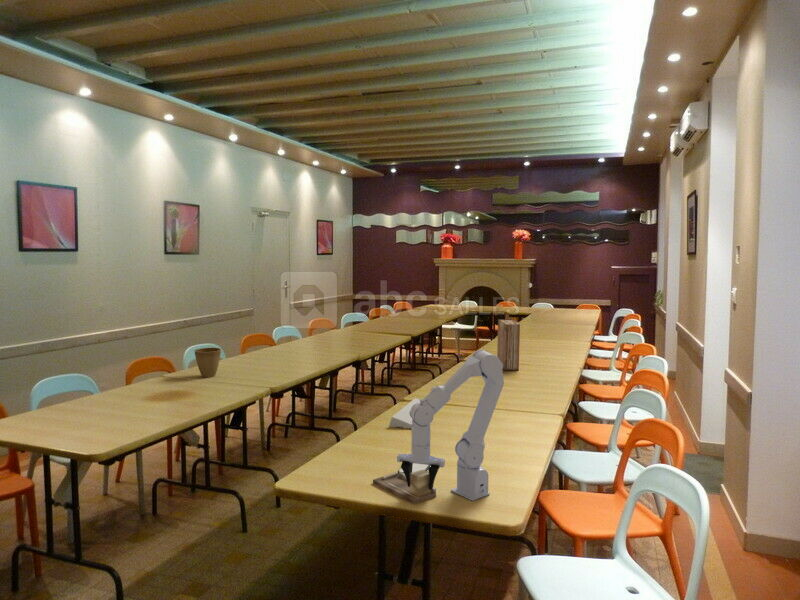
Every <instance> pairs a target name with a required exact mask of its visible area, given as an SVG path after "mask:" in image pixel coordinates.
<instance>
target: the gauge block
mask: <svg viewBox="0 0 800 600" xmlns="http://www.w3.org/2000/svg"><path fill="white" fill-rule="evenodd" d="M410 493H412V494H414V495H416V496H418V497H419V496H422V495H425V494H428V493H431V490H429V471H425V470H419V471H416V472H413V473H410Z"/></svg>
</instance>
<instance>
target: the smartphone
mask: <svg viewBox="0 0 800 600" xmlns="http://www.w3.org/2000/svg"><path fill="white" fill-rule="evenodd" d="M430 466H431V465H425V464H416V463H413V466H412V473H413V472H416V471H419V470H425V471H427V470H428V471H429V468H430ZM428 471H427V472H428ZM399 472H401V473H404V472H403V470H402V468H401V467H400V468H399V469H398V470H397V473H398V475H399Z"/></svg>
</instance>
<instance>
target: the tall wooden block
mask: <svg viewBox="0 0 800 600" xmlns="http://www.w3.org/2000/svg"><path fill="white" fill-rule="evenodd" d="M520 333H521V324H520V323H519V322H518V321H516V320H515V319H512V318H497V352H496V353H497V354H496V356H497V357H498V358H499V360H500V361H501V363H502V364H503V368H502V371H507V370H509V371H510V370H511V371H513V370H514V371H516V370H517V371H519V370H520V341H521V340H520V335H521V334H520Z"/></svg>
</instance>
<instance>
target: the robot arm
mask: <svg viewBox="0 0 800 600" xmlns="http://www.w3.org/2000/svg"><path fill="white" fill-rule="evenodd" d="M502 368H503V364H502V363H501V361H500V360H499V358H498V357H497V355H496V354H495V355H494V354H491V353H490V352H488V351H486V350H484V349H479V350H476V351H474V352H473V354H472V355H470V356H468V357H467V359H466V360H465V362H464V363H463V364H462V365H461V366H460V367H459V368H458V370H456V371H455V372H454V374H453V375H452V376H451V377H450V378H449V379H448V380H447V381H446V382H445V383H444V384H442V385H436V386H432V387H431V388H430V392H428V394H427V395H426V396H425V397H423V398H421V399H420V403H416V404H414V405H413V406H412V408H411V410H410V412H409V413H410V416H411V418H412V419H413V420H412V429H411V450H410V451H411V452H410V453H411V454H410V453H398V454H397V456H396V463H401V464H400V468H402V470H403V472H404V474H405V476H406V480H407V484H408V487H410V473H412V466H413V463H416V464H425V465H431V467H430V468H429V469H428V472H429V490H432V488H433V487H434V484H435V480H436V477H437V475H438V471H439V469H440V468H444V467H445V466H446V465H445V464H446V459H444V458H439V457H435V456H432V455H431V432H432V431H431V423H432V422H433V421H434V418H435V417H434V416H435V415H436V414H437V413H438V412H439V411H440V410H441V409H442V408H443V407H444V406H445V405H446V404H448V403H449V402H450V400H451V396H452V393H453V392H455V391H456V390H457V389H458V388H459V387H460V386H462V385H463V384H464V383H465V382H467V381H468V380H469V379H470V378H473V377H481V378H482V379H483V381H484V386H483V389H482V391H481V394H480V396H479V400H478V403H477V404H476V407H475V410H474V413H473V415H472V417H471V418H472V419H471V421H470V422H469V423H470V424H469V426H468V429H467V431H465V432H464V433H462V436H461V438H460V439H459V440H458V441H457V442H456V444H455V446H454V447H455V448H454V452H455V454H456V455H457V456H458V458H457V462H456V463H457V464H456V466H457V467H456V487H454V488H451V489H450V491H451V492H452V493H455V494H457V495H459V496H461V497H464V498H466V499H467V500H470V501H473V502H474V501H476V500H478V499H481V498H484V497H486V496H489V495H491V493H490V492H489V473H488V471H487V470H486V469H485V468H484V467H482V464H483V461H484V457H485V456H484V451H485V448H486V443H485V435H486V433H487V430H488V428H489V426H490V422H491V419H492V418H493V415H494V411H495V409H496V407H497V404H498V401H499V399H500V395H501V393H502V390H503V387H504V383H505V382H504V374H503V369H502Z"/></svg>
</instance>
